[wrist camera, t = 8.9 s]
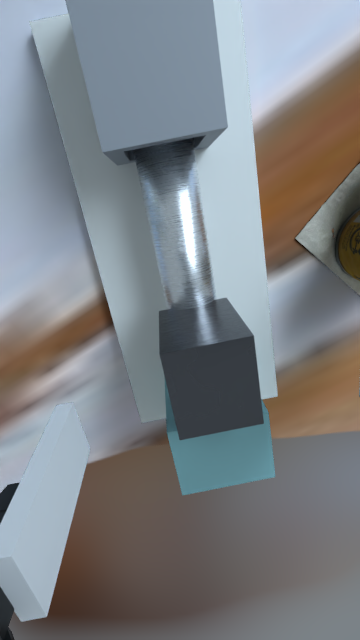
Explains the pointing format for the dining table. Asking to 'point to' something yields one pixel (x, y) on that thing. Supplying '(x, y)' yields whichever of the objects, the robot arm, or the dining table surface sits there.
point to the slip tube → (195, 303)
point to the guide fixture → (126, 195)
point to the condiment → (338, 232)
